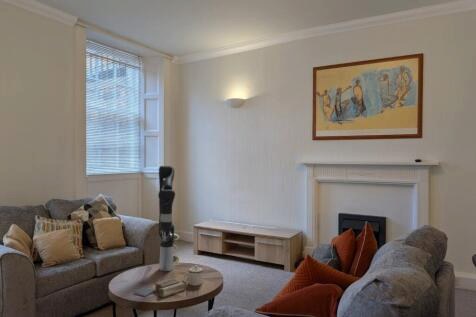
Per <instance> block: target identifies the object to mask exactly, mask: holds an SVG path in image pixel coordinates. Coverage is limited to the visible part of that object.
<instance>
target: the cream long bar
mask: <svg viewBox="0 0 476 317" xmlns="http://www.w3.org/2000/svg"><path fill="white" fill-rule="evenodd" d="M186 289H187V280H186V281H185V280H182V281H179V283H177V284H174V285H171V286H168V287H165V288H159V292H158V296H159V297H160V298H165V297H168V296H170V295H174V294H177V293H179V292H181V291H184V290H186Z"/></svg>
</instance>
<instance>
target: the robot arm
mask: <svg viewBox="0 0 476 317" xmlns="http://www.w3.org/2000/svg"><path fill="white" fill-rule="evenodd" d="M158 167H159V168H158V182H159V183H158V185H159V191H158V199H159V200H158V205H159V206H158V207H159V210H158V212H159V213H158V214H159V216H158V217H159V218H158V219H159V220H158V236H159V237H160V238H161V242H160V243H159V244H160V247H159V248H160V251H159V252H160V253H159V266H158V267H159V268H158V269H159V270H160V271H161V272H171V271H172V270H174V241H175V240H174V238H175V225H174V224H173V205H174V200H175V197H176V192H175V190H173V182H174V179H175V168H174V166H172V165H160V166H158Z"/></svg>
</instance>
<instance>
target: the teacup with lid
mask: <svg viewBox="0 0 476 317" xmlns="http://www.w3.org/2000/svg"><path fill="white" fill-rule="evenodd" d="M203 271H204V269H203V268H202V267H199V266H198V265H197V264H196V265H194V266H192V267H191V268H189V269H188V272H185V273H184V275H183V278H184V279H185V280H186V281H188V284H189V285H190V286H194V287H196V286H201V285H202V284H203ZM186 275H188V278H186Z"/></svg>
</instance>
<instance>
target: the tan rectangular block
mask: <svg viewBox="0 0 476 317" xmlns="http://www.w3.org/2000/svg"><path fill="white" fill-rule="evenodd" d="M177 283H180V281H179V280H177V279H175V278H173V277H170V278H168V279H167V278H166V279H164V280H160V281H157V282H155V289H154V290H155V292H158V293H159V288H165V287H168V286H171V285H174V284H177Z"/></svg>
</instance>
